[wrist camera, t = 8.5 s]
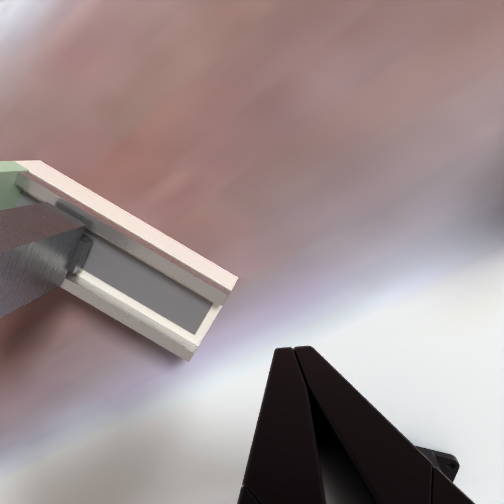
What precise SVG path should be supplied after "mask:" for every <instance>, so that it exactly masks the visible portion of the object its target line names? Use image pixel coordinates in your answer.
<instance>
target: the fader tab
mask: <svg viewBox="0 0 504 504" xmlns="http://www.w3.org/2000/svg"><path fill="white" fill-rule="evenodd" d="M86 226H87V225H86V224H85V223H83V222H81V221H80V220H78V219H76V218H74V217H73V216H71V215H69V214H68V213H66V212H64V211H63V210H61V209H59V208H57V207H56V206H54V205H52V204H51V203H49V202H43V203H37V204H32V205H26V206H21V207H15V208H10V209H5V210H0V318H1V317H3V316H5V315H7V314H9V313H11V312H12V311H14V310H16V309H18V308H20V307H22V306H24V305H26V304H27V303H29V302H31V301H33V300H35V299H37V298H39V297H40V296H42V295H44V294H46V293H48V292H50V291H52V290H53V289H55V288H57V287H59V286H61V285H62V284H63V282H64V279H65V277H66V274H67V272H68V271H70V272H71V273H74V272H76V271H78V270H80V269H82V267H83V264H84V262H85V259H86V257H87V255H88V252H89V250H90V248H91V245H92V243H93V241H94V240H93V239H91V238H90V237H88V236H86V235H85V234H83V233H84V231H85V228H86Z"/></svg>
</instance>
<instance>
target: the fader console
mask: <svg viewBox="0 0 504 504" xmlns="http://www.w3.org/2000/svg"><path fill="white" fill-rule="evenodd" d="M43 202H49V203H51V204H52V205H54V206H56V207H57V208H59V209H61V210H63V211H64V212H66V213H68V214H69V215H71V216H73V217H74V218H76V219H78V220H80V221H81V222H83V223H85V224H86V225H87V226H86V228H85V231H84V233H83V234H85V235H86V236H88V237H90V238H91V239H93V240H94V241H93V243H92V245H91V248H90V250H89V252H88V255H87V257H86V259H85V262H84V264H83V267H82V269H80V270H78V271H76V272H74V273H71V272H70V271H68V272H67V274H66V277H65V279H64V282H63V284H62V285H61V286H60V287H61V288H63V289H65V290H66V291H68V292H70V293H72V294H73V295H75V296H77V297H78V298H80V299H82V300H83V301H85V302H87V303H89V304H90V305H92V306H94V307H95V308H97V309H99V310H100V311H102V312H104V313H106V314H107V315H109V316H111V317H112V318H114V319H116V320H118V321H119V322H121V323H123V324H124V325H126V326H128V327H129V328H131V329H133V330H135V331H136V332H138V333H140V334H141V335H143V336H145V337H147V338H148V339H150V340H152V341H153V342H155V343H157V344H158V345H160V346H162V347H164V348H165V349H167V350H169V351H170V352H172V353H174V354H176V355H177V356H179V357H181V358H182V359H184V360H186V361H187V362H189V361H190V359H191V358H192V356H193V354H194V352H195V351H196V349H197V347H198V345H199V344H200V342H201V340H202V339H203V337H204V335H205V334H206V332H207V330H208V329H209V327H210V325H211V324H212V322H213V320H214V319H215V317H216V315H217V314H218V312H219V310H220V309H221V307H222V306H223V304H224V302H225V301H226V299H227V297H228V296H229V294H230V292H231V290H232V288H233V287H234V285H235V283H236V281H237V279H238V277H236V276H235V275H233V274H231V273H230V272H228V271H226V270H224V269H223V268H221V267H219V266H218V265H216V264H214V263H213V262H211V261H209V260H208V259H206V258H204V257H202V256H201V255H199V254H197V253H196V252H194V251H192V250H191V249H189V248H187V247H185V246H184V245H182V244H180V243H179V242H177V241H175V240H174V239H172V238H170V237H169V236H167V235H165V234H163V233H162V232H160V231H158V230H157V229H155V228H153V227H152V226H150V225H148V224H147V223H145V222H143V221H141V220H140V219H138V218H136V217H135V216H133V215H131V214H130V213H128V212H126V211H125V210H123V209H121V208H119V207H118V206H116V205H114V204H113V203H111V202H109V201H108V200H106V199H104V198H103V197H101V196H99V195H97V194H96V193H94V192H92V191H91V190H89V189H87V188H86V187H84V186H82V185H80V184H79V183H77V182H75V181H74V180H72V179H70V178H69V177H67V176H65V175H64V174H62V173H60V172H58V171H57V170H55V169H53V168H52V167H50V166H48V165H47V164H45V163H43V162H42V161H40V160H36V161H0V210H5V209H10V208H15V207H21V206H26V205H32V204H37V203H43Z"/></svg>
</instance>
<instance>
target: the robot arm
mask: <svg viewBox="0 0 504 504" xmlns="http://www.w3.org/2000/svg"><path fill="white" fill-rule="evenodd" d="M448 463H451V464H448ZM459 466H460V465H459V463H458V461H457V459H456V457H455V456H453V455H451V454H447V453H443V452H438V451H434V450H430V449H426V448H422V447H418V446H414V445H413V444H412V443H411V442H410V441H409V440H408V439H407V438H406V437H405V436H404V435H403V434H402V433H401V432H400V431H399V430H398V429H397V428H395V427H394V426H393V425H392V424H391V423H390V422H389V421H388V420H387V419H386V418H385V417H384V416H383V415H382V414H381V413H380V412H379V411H378V410H377V409H376V408H375V407H374V406H373V405H372V404H371V403H370V402H369V401H368V400H367V399H366V398H365V397H363V396H362V395H361V394H360V393H359V392H358V391H357V390H356V389H355V388H354V387H353V386H352V385H351V384H350V383H349V382H348V381H347V380H346V379H345V378H344V377H343V376H342V375H341V374H340V373H339V372H338V371H337V370H336V369H335V368H334V367H333V366H331V365H330V364H329V363H328V362H327V361H326V360H325V359H324V358H323V357H322V356H321V355H320V354H319V353H318V352H317V351H316V350H315V349H314V348H313V347H311V346H299V347H295V348H294V349H293V348H291V347H285V348H276V349H275V351H274V355H273V359H272V363H271V367H270V372H269V376H268V380H267V384H266V388H265V392H264V396H263V400H262V405H261V409H260V413H259V417H258V421H257V425H256V429H255V433H254V438H253V442H252V446H251V450H250V454H249V458H248V462H247V466H246V471H245V475H244V479H243V483H242V486H243V487H241V490H240V494H239V498H238V503H237V504H475V503H474V502H473V501H472V500H471V499H470V498H469V497H467V496H466V495H465V494H464V493H463V492H462V491H461V490H460V489H459V488H458V487H457V486H456V485H455V484H454V483H453V481H454V479H455V476H456V474H457V472H458V469H459Z"/></svg>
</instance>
